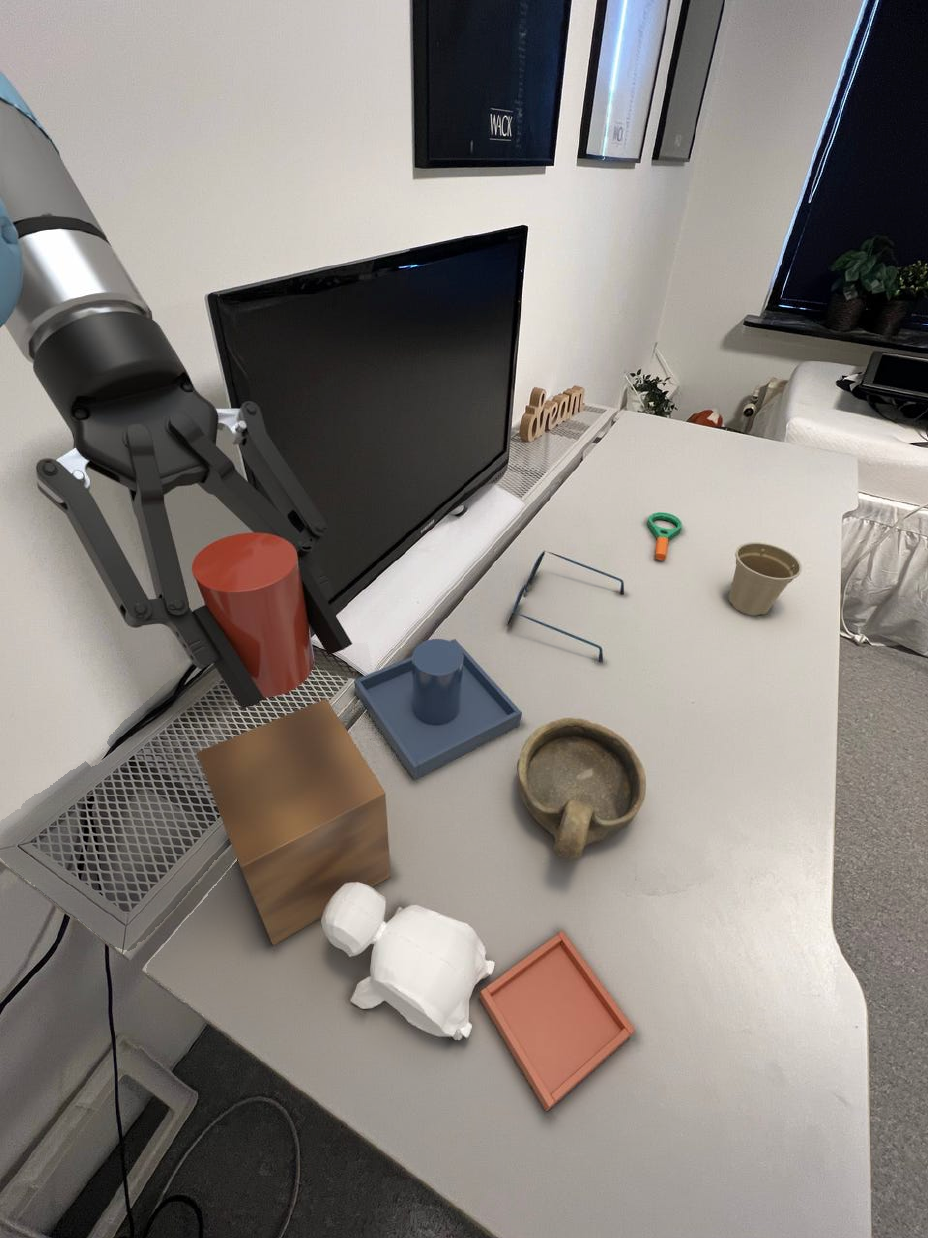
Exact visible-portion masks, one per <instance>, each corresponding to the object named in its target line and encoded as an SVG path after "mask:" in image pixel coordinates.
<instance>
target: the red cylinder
mask: <svg viewBox="0 0 928 1238" xmlns="http://www.w3.org/2000/svg"><path fill="white" fill-rule="evenodd" d="M191 574H192V577H193V580H194V584H195V587H196V589H197V593H198V596H199V599H200V602H201V605H202V606H204V605H206V606H207V607H208V609H209V610H210V612H211V613H212V615H213V617H214V618H215V620H216V621H217V623H218V625H219V626H220V628H221V629H222V631H223V633H224V634H225V636H226V637H227V639H228V641H229V642H230V644H231V646H232V647H233V649H234V650H235V652H236V654H237V655H238V657H239V658H240V660H241V662H242V663H243V665H244V666H245V668H246V670H247V671H248V673H249V674H250V676H251V678H252V679H253V681H254V682H255V684H256V686H257V687H258V689H259V690H260V692H261V694H262V695H263V697H264V698H266V699H267V698H274V697H277V696H283V695H284V694H287V693H290V692H292V691H293V690H295V689H297V688H298V687H300V686H301V685H302V684H303V683H304V682H305V681H307V679H308V678H309V677H310V675H311V674H312V672H313V669H314V666H315V654H314V648H313V641H312V635H311V630H310V624H309V623H308V617H307V610H306V604H305V598H304V592H303V586H302V580H301V574H300V568H299V561H298V555H297V552H296V549H295V548H294V546H293V545H292V544H291V543H290V542H289V541H287V540H286V539H284V538H282V537H279V536H276V535H273V534H268V533H257V532H253V531H251V532H241V533H235V534H230V535H227V536H225V537H222V538H219V539H217V540H215V541H212V542H211V543H209V544H208V545H206V546H205V547H203V548H201V550H200V551H199V552H198V553H197V554H196V555H195V557H194V558H193V561H192V564H191ZM202 606H201V607H202Z"/></svg>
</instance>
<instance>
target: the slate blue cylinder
mask: <svg viewBox="0 0 928 1238" xmlns="http://www.w3.org/2000/svg"><path fill="white" fill-rule="evenodd" d="M451 641H452V640H448V639H443V638H431V639H427V640H424V641H423V642H420V643H419V644H418V645H417V646H416V647H414V649H413V651H412V654H411V657H412V707H413V712H414V714H415V715H416V717H417V718H418V719H419V720H421V721H422V722H424V723H427V724H430V725H443V724H446V723H449V722H451V721H452V720H454V719H455V718H456V716H457V715H458V713H459V711H460V701H461V687H462V674H463V660H464V656H463V652H462V651H461V649H460V648H459V647H458V646H457V645H456V644H455V643H453V642H451Z"/></svg>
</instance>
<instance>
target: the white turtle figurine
mask: <svg viewBox="0 0 928 1238" xmlns="http://www.w3.org/2000/svg"><path fill="white" fill-rule="evenodd" d="M386 908H387V901H386V897H385V896H384V895H383V894H380V893H379V892H378V891H377V890H376V889H375V888H374V887H370V886H368V885H366V884H362V883H359V882H355V883H346V884H344V885H343V886H342V887H341V888H340V889H339V890H338V891H337V892H336V893H335V894H334V895H333V896H332V898H331V899H330V900H329V902H328V903H327V905H326V907H325V910H324V913H323V916H322V917H321V918H320V922H321V927H322V930H323V933H324V935H325V937H326V938H327V940H328V941H329V943H331V945H333V946H334V947H335V948H337V949H340V950H342V951H343V952H344V953H346V954H347V956H348V957H350V958H351V957H355V956H358V955H360V954H361V953H363V952H364V951H366V949H367V948H368V947H370V945H373V947H372V951H371V958H370V969H369V972H370V975H369V976H367V977H366V978H364V979H363V980H360V981H359V982H358V983H357V984H356V986H355V989H354V991H353V993H352V996H351V998H350V1002H351V1003H352V1004H354V1005H355V1006H357V1007H358V1008H360V1009H363V1010H366V1009H373V1008H375V1007H377V1006H379V1005H380V1004H382V1002H386V1003H388V1005H390V1006H391V1007H392V1008H394V1009H395V1010H397V1011H398V1012H399V1014H400V1015H401V1016H403V1017H404V1018H405V1019H406V1021H407V1022H408V1023H409V1024H411V1026H415V1027H416V1028H417V1029H419V1030H421V1031H423V1032H425V1033H428V1034H430V1035H433V1036H436V1037H446V1038H447V1037H452V1038H453V1039H454V1040H455V1041H457V1040H458V1041H460V1040H462V1038H463V1037H464V1038H468V1037H469V1035H470V1033H471V1031H472V1028H473V1024H472V1023H470V1021H469V1019H470V1016H469V1015H470V998H471V997H472V994H473V990H474V989H475V986H476V985H477V984H478V983H479V982H480V981H481V980H482V979H485V978H487V977H488V976H491V975H492V974H493V971H494V968H495V965H496V963H495V961H493V960H487V959H486V954H487V950H486V947H485V945H484V943H483V942H482V941H481V938H479V937H480V936H479V935H478V934H477V933H476V930H474V929H473V927H472V926H470V925H469V924H468V923H466V922H464V921H463V922H462V921H461V920H458V919H456V918H453V917H450V916H447V915H445V914H442V913H439V912H437V911H435V910H432V909H428V908H426V907H423V906H420V905H418V904H410V905H408V906H407V907H405V908H403V907H401V906H400V907H398V908H397V909H396V911H395V913H394V915H393V916H392V918H390V919H389V920H388V921H387V922H386V921H384V919H385V914H386Z"/></svg>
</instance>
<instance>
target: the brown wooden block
mask: <svg viewBox="0 0 928 1238" xmlns="http://www.w3.org/2000/svg"><path fill="white" fill-rule="evenodd" d="M195 754H196V756H197V759H198V762H199V765H200V767H201V770H202V772H203V775H204V777H205V780H206V782H207V785H208V788H209V790H210V793H211V796H212V798H213V801H214V802H215V805H216V808H217V811H218V813H219V816H220V818H221V822H222V823H223V826H224V829H225V831H226V834H227V836H228V839H229V842H230V844H231V847H232V849H233V852H234V855H235V857H236V860H237V862H238V865H239V867H240V870H241V873H242V875H243V877H244V880H245V882H246V884H247V886H248V889H249V891H250V894H251V897H252V898H253V901H254V903H255V906H256V908H257V910H258V913H259V915H260V916H259V917H261V920H262V922H263V925H264V927H265V930H266V932H267V934H268V937H269V939H270V942H271V945H272V946H275V945H277V944H279V943H280V942H282V941H284V940H285V939H287V938H289V937H291V936H293V935H295V933H297V932H300V931H301V930H302V929H304V928H306V927H307V926H309V925H311V924H313V923H314V922H316V921H318V920H319V919H322V916H323V913H324V910H325V907H326V905H327V903H328V902H329V900H330V899H331V898H332V896H333V895H334V894H335V893H336V892H337V891H338V890H339V889H340V888H341V887H342V886H343V885H344V884H346V883H355V882H359V883H362V884H366V885H368V886H370V887H372V888H374V887H375V886H377V885H379V884H380V883H382V882H384V881H385V880H388V879H389V878H390V877H391V876H392V873H391V860H390V859H391V858H390V845H389V844H390V843H389V842H390V841H389V828H388V827H389V826H388V812H387V811H388V810H387V799H386V798H387V796H386V791H385V790H384V788H383V786H382V785H381V783H380V782H379V780H378V779H377V777H376V775H375V774H374V772H373V771H372V769H371V767H370V765H369V764H368V763H367V761H366V759H365V757H364V756H363V754H362V752H361V751H360V750H359V748H358V747H357V745H356V743H355V742H354V740H353V739H352V737H351V734H350V733H349V732H348V730H347V729H346V727H345V726H344V724H343V722H342V721H341V719H340V717H339V716H338V714H337V712H336V711H335V709H334V708H333V707H332V705H331V703H330V702H329V700H328V698H323V699H321V700H319V701H316V702H314V703H312V704H309V705H306V706H304V707H302V708H299V709H296V710H295V711H292V712H289V713H288V714H285V715H283V716H280V717H278V718H276V719H273V720H270V721H269V722H266V723H264V724H261V725H259V726H256V727H254V728H252V729H249V730H247V731H244V732H242V733H240V734H237V735H235V736H233V737H230V738H227V739H225V740H223V741H220V742H217V743H216V744H213V745H211V746H209V747H206V748H204V749H202V750H199V751H197V752H196V753H195Z"/></svg>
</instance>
